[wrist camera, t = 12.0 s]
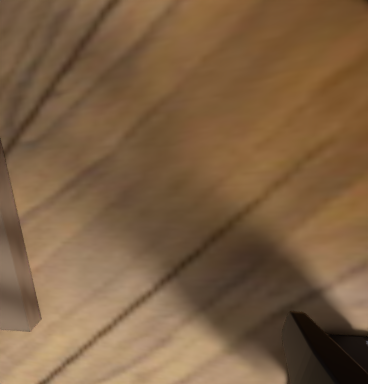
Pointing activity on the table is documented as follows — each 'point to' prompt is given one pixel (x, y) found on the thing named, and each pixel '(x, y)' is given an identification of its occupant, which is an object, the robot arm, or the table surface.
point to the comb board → (14, 265)
